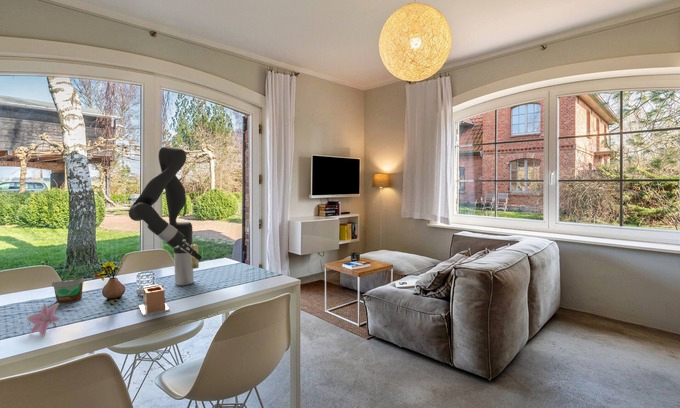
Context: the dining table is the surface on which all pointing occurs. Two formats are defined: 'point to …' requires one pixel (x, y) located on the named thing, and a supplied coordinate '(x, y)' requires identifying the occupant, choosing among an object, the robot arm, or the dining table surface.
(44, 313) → the lily
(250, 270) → the dining table surface
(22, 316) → the dining table surface
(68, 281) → the food container
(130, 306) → the dining table surface
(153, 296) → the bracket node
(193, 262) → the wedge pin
